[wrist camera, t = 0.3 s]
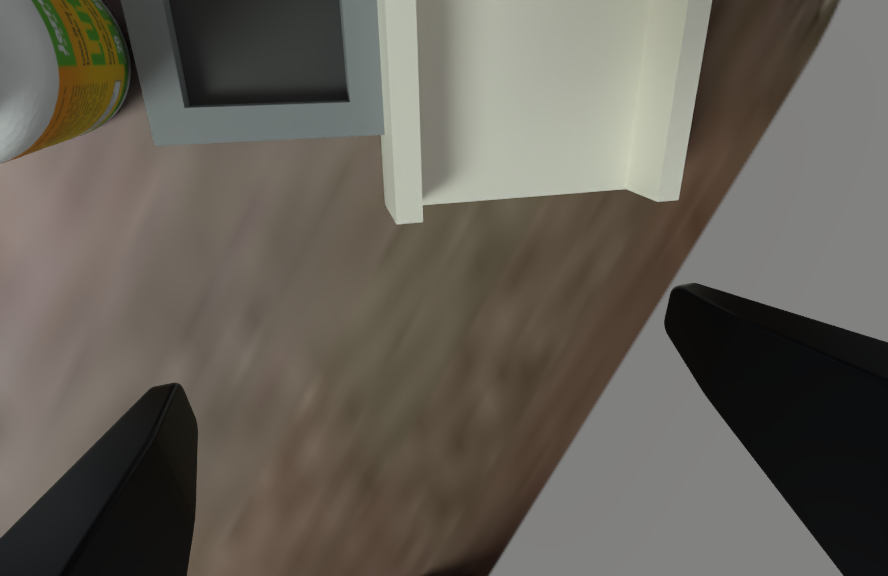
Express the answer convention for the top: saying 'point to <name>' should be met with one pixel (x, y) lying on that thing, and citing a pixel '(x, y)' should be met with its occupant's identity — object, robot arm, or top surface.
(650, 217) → the top surface
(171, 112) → the holed board
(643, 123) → the tray
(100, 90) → the supplement bottle
